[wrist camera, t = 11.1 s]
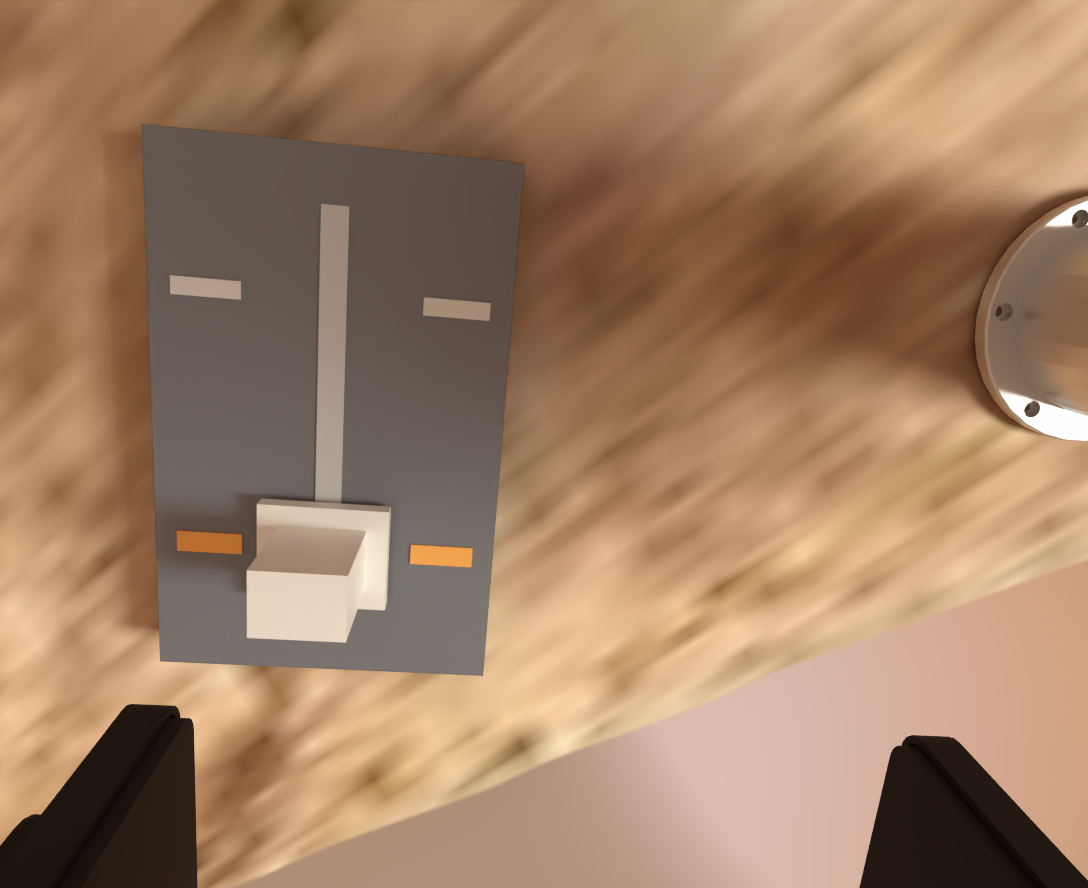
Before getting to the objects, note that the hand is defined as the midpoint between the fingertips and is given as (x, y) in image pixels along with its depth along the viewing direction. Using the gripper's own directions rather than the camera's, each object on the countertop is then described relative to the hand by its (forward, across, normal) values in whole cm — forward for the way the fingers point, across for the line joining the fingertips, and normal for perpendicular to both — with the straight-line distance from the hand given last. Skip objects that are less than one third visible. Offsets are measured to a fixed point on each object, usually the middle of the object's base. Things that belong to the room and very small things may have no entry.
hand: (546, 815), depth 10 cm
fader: (+27, +8, +8) cm, 29 cm away
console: (+30, +8, +2) cm, 31 cm away
